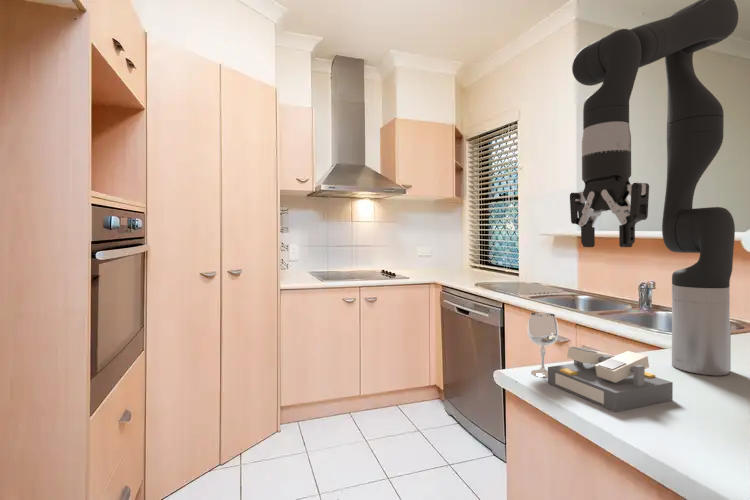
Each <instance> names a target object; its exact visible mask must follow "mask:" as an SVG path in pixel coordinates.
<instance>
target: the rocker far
mask: <svg viewBox="0 0 750 500" xmlns="http://www.w3.org/2000/svg"><path fill="white" fill-rule="evenodd" d="M614 356H615V357H613V358H610V359H608V360H606V361H603V362H601V363H599V364H596V365H595V368H596V374H597V376H598V377H601V378H603V379H606V380H609V381H612V382H615V383H616V382H618V381H620V380H623V379H625V378H627V377H629V376H631V375H633V374H634V366H635V365H642V366H644V370H646V369H648V368H650V364H649V363H650V362H649V357H648V355H646V354H642V353H637V352H633V351H630V350H626V351H625V352H622V353H619V354H617V355H614Z"/></svg>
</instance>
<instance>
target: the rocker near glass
mask: <svg viewBox="0 0 750 500" xmlns="http://www.w3.org/2000/svg"><path fill="white" fill-rule="evenodd" d="M605 355H608V356H611V358H613V357H615V356H616V355H613V354H610V353H607V352H605V351H600V350H594V349H593V350H592V349H587V348H584V347H581V348H578V346H568V349H567V356H566V357H567V359H571V360H573V361H574V360H576V361H579V362H582V363H589V364H599V363H601V356H605Z"/></svg>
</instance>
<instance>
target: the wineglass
mask: <svg viewBox="0 0 750 500" xmlns="http://www.w3.org/2000/svg"><path fill="white" fill-rule="evenodd" d="M529 314H530V315H529V318H528V321H527V329H526V330H527V336H528V338H529V340H530V342H532V343H533V344H535V345H536V346H539V347H541V348H540V350H539V353H540V357H541V366H540V368H539V369H534V370H531V371H530V374H531V375H533V376H535V377H540V378H548V369H546V368H545V357H546V356H545V355H546V347H548V346H549V347H550V346H552V345H553V344H555V343H556V342H557V341H558V339H559V338H558V337H559V324H558V320H557V317H556V314H554V313H549V312H531V313H529Z"/></svg>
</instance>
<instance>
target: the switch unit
mask: <svg viewBox="0 0 750 500" xmlns="http://www.w3.org/2000/svg"><path fill="white" fill-rule="evenodd" d="M577 347H578V346H577ZM578 348H582V347H581V346H579V347H578ZM610 358H611V356H608V355H605V356H601V362H603V361H606V360H608V359H610ZM595 365H596V364H589V363H582V362H579V361H576V360H573V363H566V364H558V365H552V366H547V371H548V377H547V383H548V384H549V385H552V386H554V387H557V388H559V389H561V390H564V391H566V392H567V393H568V392H569V393H570V394H573V395H575V396H577V397H580V398H582V399H585V400H586V401H589V402H592V403H593V404H596V405H598V406H601V407H603V408H605V409H607V410H610V411H612V412H613V413H614V412H615V413H618V412H622V411H627V410H633V409H637V408H642V407H647V406H650V405H656V404H661V403H666V402H670V401H673V395H674V394H673V387H674V386H673V385H674V383H673V381H670V380H667V379H663V378H660V377H657V376H656V374H653V373H651V372H647V371H645V369H644V366H642V365H635V366H634V374H633V375H631V376H629V377H627V378H625V379H623V380H620V381H618V382H616V383H615V382H612V381H609V380H606V379H603V378H601V377H598V376H597V374H596V368H595Z"/></svg>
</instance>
